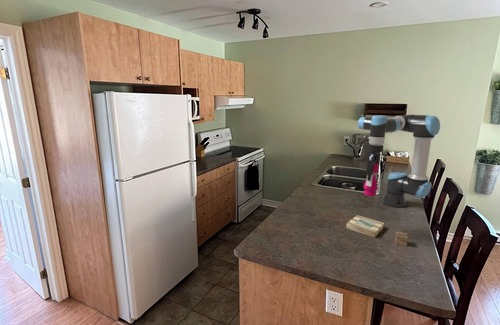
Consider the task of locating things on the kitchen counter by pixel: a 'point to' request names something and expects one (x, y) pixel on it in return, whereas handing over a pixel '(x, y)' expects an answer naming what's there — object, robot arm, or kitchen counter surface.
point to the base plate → (365, 226)
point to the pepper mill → (371, 190)
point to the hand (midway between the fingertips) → (370, 184)
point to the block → (401, 238)
